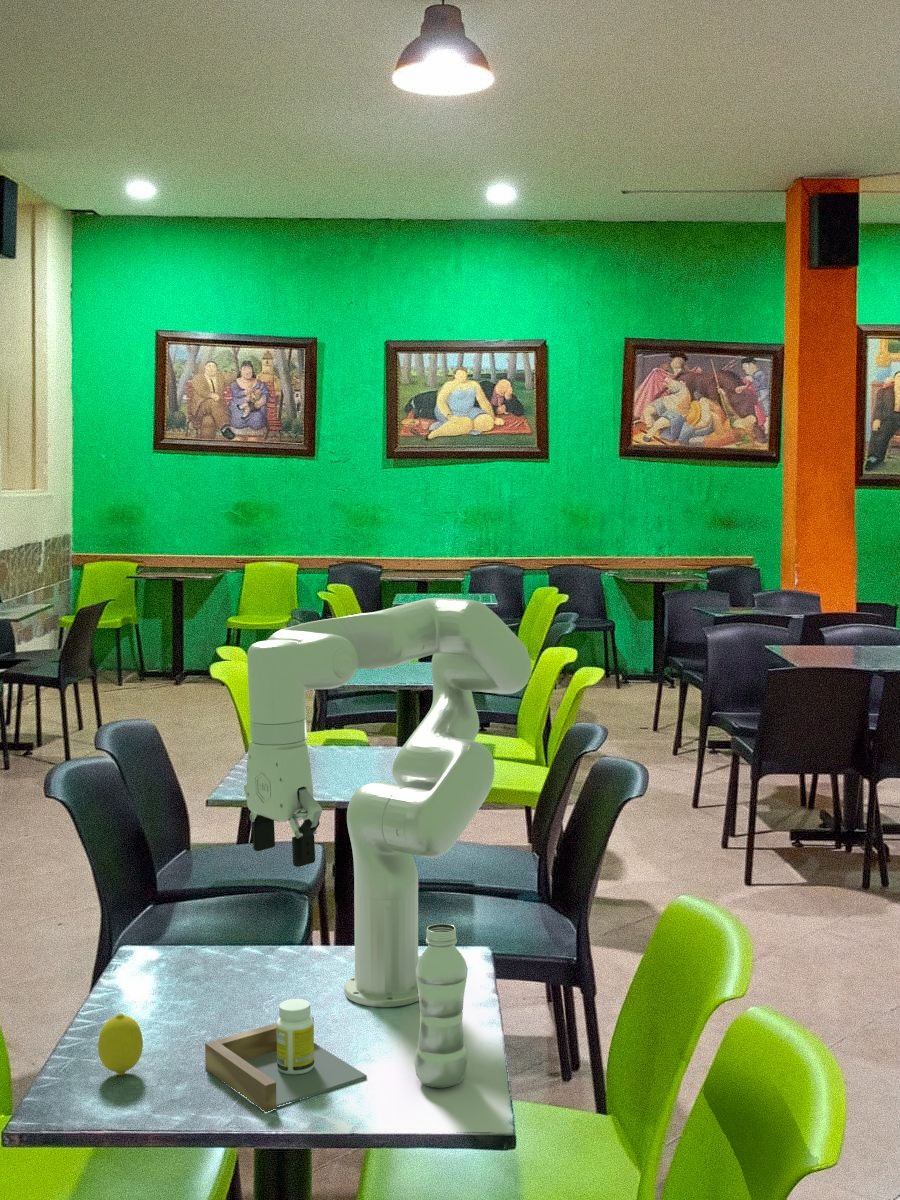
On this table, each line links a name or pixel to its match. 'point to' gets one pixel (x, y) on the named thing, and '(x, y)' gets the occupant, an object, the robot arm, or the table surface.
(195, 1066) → the table surface
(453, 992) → the plastic bottle
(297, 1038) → the supplement bottle
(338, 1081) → the mat
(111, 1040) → the lemon
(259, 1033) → the corner walls
